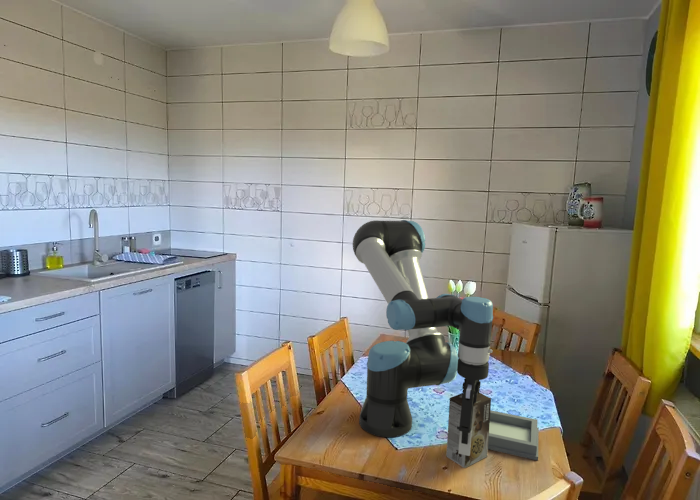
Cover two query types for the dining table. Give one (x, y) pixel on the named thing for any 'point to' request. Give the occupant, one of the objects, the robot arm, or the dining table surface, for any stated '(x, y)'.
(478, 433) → the coffee box
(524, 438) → the tray
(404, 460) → the dining table surface
